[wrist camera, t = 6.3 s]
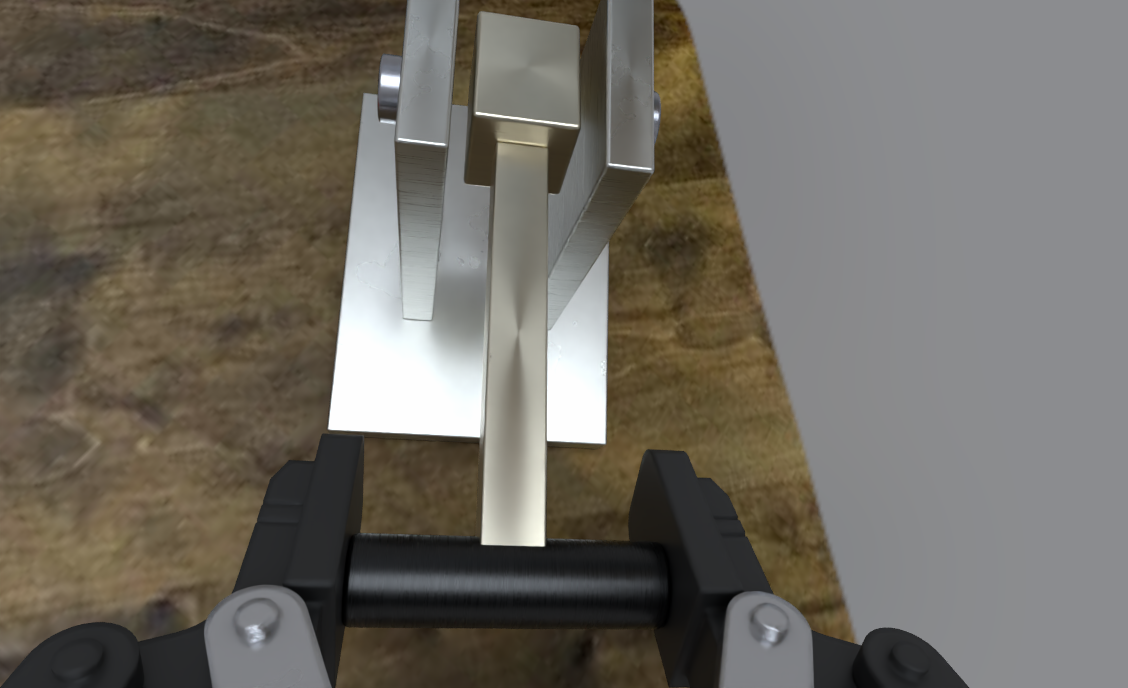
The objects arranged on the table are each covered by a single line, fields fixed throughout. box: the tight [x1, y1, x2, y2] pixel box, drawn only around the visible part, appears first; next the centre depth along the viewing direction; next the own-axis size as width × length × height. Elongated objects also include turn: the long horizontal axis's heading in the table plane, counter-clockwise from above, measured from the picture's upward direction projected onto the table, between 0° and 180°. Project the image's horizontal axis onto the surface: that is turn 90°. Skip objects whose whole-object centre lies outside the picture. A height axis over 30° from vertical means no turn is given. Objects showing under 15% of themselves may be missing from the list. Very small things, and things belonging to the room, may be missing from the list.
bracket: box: [327, 0, 661, 449], centre depth 21 cm, size 12×9×13 cm
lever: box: [342, 11, 671, 630], centre depth 15 cm, size 12×5×2 cm, turn 179°
